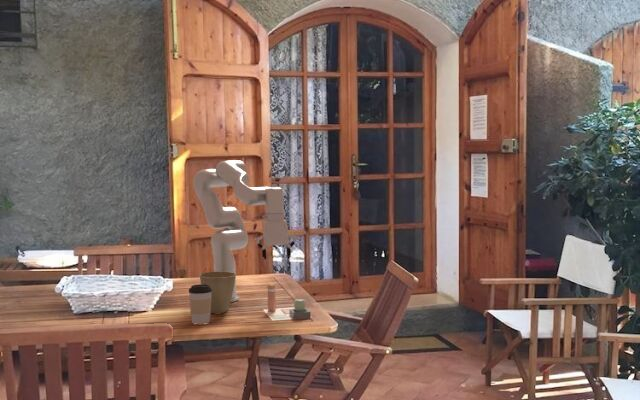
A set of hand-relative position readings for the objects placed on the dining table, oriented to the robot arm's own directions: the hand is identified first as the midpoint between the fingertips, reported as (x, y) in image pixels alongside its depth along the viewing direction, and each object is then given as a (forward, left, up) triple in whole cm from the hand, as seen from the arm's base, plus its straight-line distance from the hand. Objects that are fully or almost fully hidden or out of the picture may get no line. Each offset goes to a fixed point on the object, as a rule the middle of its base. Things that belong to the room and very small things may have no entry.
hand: (276, 258), depth 310 cm
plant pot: (-24, +6, -23) cm, 33 cm away
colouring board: (+2, -8, -22) cm, 24 cm away
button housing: (+6, -14, -22) cm, 27 cm away
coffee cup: (-33, -10, -23) cm, 41 cm away
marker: (-3, -2, -22) cm, 22 cm away
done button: (+6, -14, -20) cm, 26 cm away
